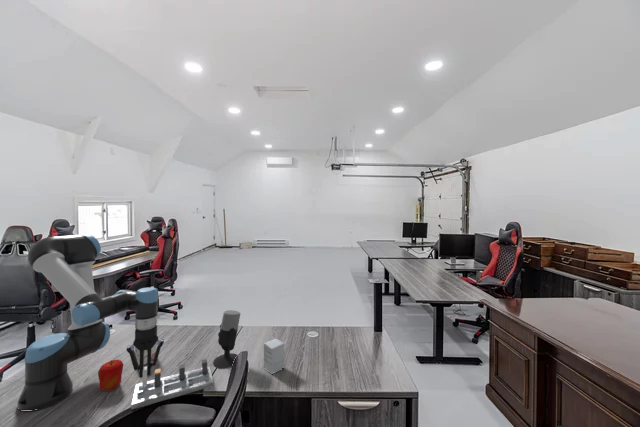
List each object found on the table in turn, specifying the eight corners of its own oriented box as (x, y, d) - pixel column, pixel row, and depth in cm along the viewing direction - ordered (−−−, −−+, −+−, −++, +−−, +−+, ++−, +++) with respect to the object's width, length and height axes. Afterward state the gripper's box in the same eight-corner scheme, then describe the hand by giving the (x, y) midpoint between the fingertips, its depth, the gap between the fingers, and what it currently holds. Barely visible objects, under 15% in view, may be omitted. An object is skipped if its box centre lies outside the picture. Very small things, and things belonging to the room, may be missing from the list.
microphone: (245, 361, 132) (246, 312, 132) (220, 372, 122) (221, 319, 122) (232, 351, 140) (233, 305, 140) (208, 361, 131) (209, 312, 131)
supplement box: (275, 362, 131) (276, 337, 131) (284, 369, 126) (284, 343, 126) (262, 368, 126) (263, 342, 126) (271, 375, 120) (272, 348, 120)
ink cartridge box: (148, 355, 135) (149, 327, 135) (156, 356, 134) (157, 328, 134) (133, 364, 126) (134, 334, 126) (142, 366, 125) (143, 336, 126)
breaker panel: (131, 409, 98) (131, 400, 98) (135, 389, 109) (136, 380, 109) (213, 386, 112) (213, 377, 112) (209, 370, 124) (209, 362, 124)
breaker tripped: (152, 390, 106) (153, 373, 106) (153, 386, 108) (153, 369, 108) (161, 388, 107) (161, 371, 107) (161, 384, 110) (162, 367, 110)
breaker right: (200, 377, 114) (201, 363, 114) (200, 374, 117) (200, 360, 117) (208, 376, 116) (208, 361, 116) (207, 372, 118) (207, 358, 118)
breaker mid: (177, 384, 110) (178, 369, 110) (177, 380, 113) (178, 365, 113) (185, 382, 111) (186, 367, 111) (185, 378, 114) (185, 363, 114)
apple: (106, 381, 114) (106, 355, 114) (127, 380, 115) (128, 353, 115) (92, 395, 105) (93, 366, 105) (115, 393, 106) (116, 365, 106)
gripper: (125, 333, 99) (123, 394, 99) (164, 327, 106) (163, 384, 106) (128, 326, 106) (126, 383, 106) (165, 320, 112) (163, 374, 112)
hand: (144, 383), depth 106 cm, fingers closed
